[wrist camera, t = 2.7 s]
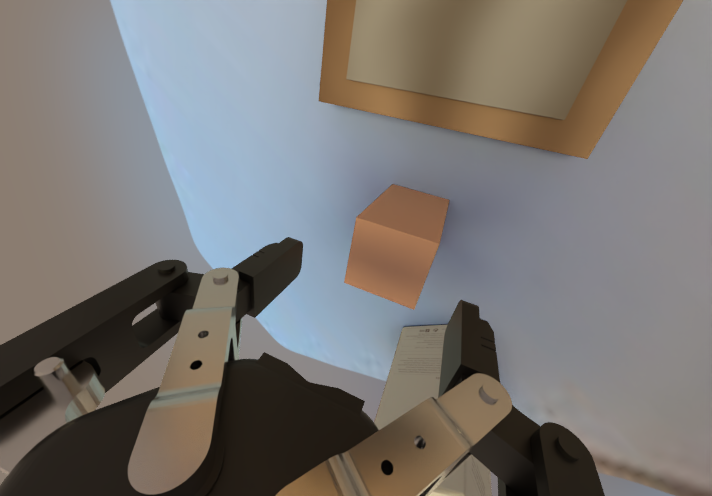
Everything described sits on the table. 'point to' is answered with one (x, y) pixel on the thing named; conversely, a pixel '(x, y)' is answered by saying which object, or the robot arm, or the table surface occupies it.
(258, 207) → the table surface
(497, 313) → the table surface
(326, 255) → the table surface
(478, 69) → the walnut plinth
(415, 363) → the small box
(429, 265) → the terracotta block
